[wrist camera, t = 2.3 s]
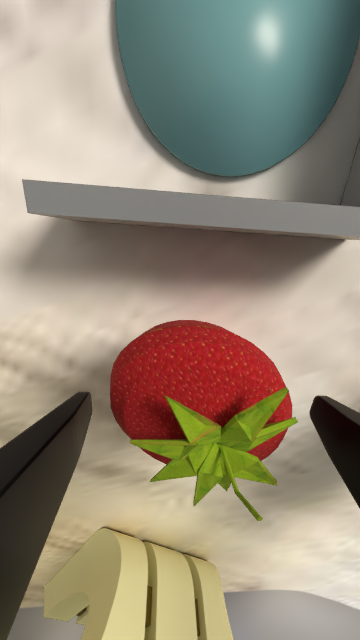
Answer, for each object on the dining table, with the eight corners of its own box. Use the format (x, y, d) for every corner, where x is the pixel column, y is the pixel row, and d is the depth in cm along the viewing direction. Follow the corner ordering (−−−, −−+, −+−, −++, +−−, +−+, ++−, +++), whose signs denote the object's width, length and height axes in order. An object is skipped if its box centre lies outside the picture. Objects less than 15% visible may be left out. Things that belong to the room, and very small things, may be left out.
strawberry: (151, 271, 12) (104, 379, 3) (262, 320, 14) (452, 491, 5) (117, 355, 14) (24, 580, 5) (218, 390, 16) (292, 615, 6)
